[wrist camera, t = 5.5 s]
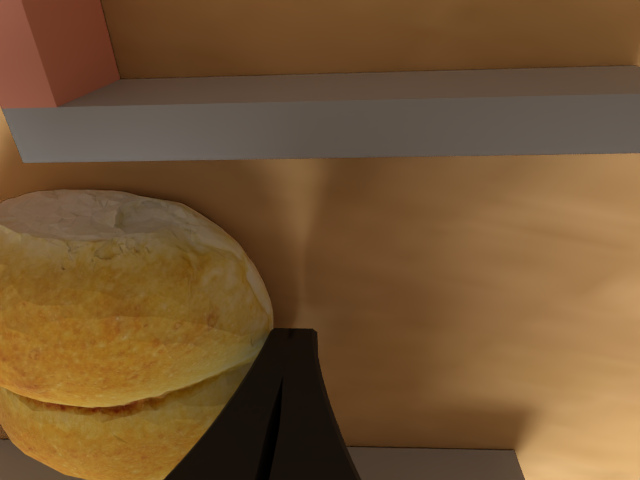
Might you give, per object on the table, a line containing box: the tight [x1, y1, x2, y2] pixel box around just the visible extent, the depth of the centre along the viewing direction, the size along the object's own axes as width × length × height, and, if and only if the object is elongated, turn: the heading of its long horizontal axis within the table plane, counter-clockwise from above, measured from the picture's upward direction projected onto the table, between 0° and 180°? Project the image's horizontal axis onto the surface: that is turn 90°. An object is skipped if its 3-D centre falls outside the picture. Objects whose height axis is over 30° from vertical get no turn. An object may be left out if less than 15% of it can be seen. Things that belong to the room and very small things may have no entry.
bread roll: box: [0, 189, 274, 480], centre depth 12 cm, size 8×9×4 cm
